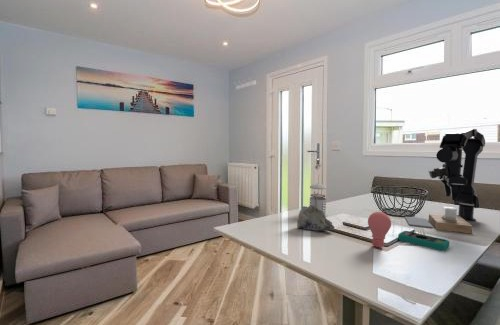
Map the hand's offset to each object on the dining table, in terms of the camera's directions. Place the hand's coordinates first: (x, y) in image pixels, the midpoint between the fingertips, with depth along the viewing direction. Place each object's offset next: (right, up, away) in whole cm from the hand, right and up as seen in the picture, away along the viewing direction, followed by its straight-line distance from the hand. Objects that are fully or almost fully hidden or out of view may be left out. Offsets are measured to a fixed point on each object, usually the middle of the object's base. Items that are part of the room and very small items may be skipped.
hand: (450, 198), depth 118 cm
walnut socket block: (0, -12, +1) cm, 12 cm away
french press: (-54, -11, +15) cm, 57 cm away
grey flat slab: (-11, -12, +5) cm, 17 cm away
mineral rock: (-61, -12, -8) cm, 62 cm away
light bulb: (-43, -14, -25) cm, 52 cm away
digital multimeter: (-25, -14, -21) cm, 36 cm away
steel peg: (0, -12, +1) cm, 12 cm away
